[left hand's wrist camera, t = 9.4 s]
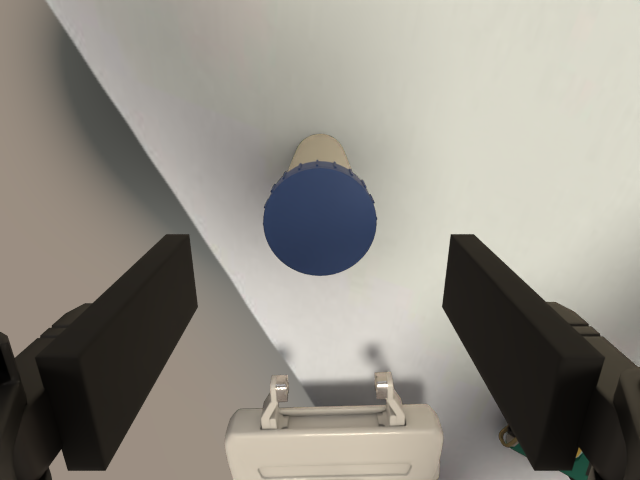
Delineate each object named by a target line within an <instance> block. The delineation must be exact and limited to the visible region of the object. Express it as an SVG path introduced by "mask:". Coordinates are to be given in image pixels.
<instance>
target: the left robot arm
mask: <svg viewBox="0 0 640 480" xmlns="http://www.w3.org/2000/svg"><path fill="white" fill-rule="evenodd" d="M197 307H198V305H197V296H196V288H195V279H194V271H193V263H192V254H191V246H190V238H189V234H167V235H165V236H164V237H163V238H162V239H161V240H160V241H159V242H158V243H157V244H155V245H154V246H153V247H152V248H151V249H150V250H149V251H148V252H147V253H146V254H145V255H144V256H143V257H142V258H140V259H139V260H138V261H137V262H136V263H135V264H134V265H133V266H132V267H131V268H130V269H129V270H128V271H127V272H126V273H124V274H123V275H122V276H121V277H120V278H119V279H118V280H117V281H116V282H115V283H114V284H113V285H112V286H111V287H110V288H108V289H107V290H106V291H105V292H104V293H103V294H102V295H101V296H100V297H99V298H98V299H97V300H96V301H95V302H94V303H85V304H83V305H81V306H79V307H77V308H75V309H73V310H71V311H69V312H68V313H66V314H64V315H63V316H62V317H61V318H60V319H59V320H58V321H56V322H55V323H54V324H53V325H52V328H48V329H47V330H46V331H45V332H44V333H43V334H42V335H41V336H40V338H37V339H36V340H35V341H34V342H33V343H31V344H30V345H29V346H28V347H27V348H26V349H24V350H23V351H22V352H21V353H20V354H19V355H18V356H17V357H15V358H14V355H13V352H12V349H11V346H10V342H9V339H8V336H7V335H5V334H3V333H2V332H0V480H52V477H51V473H50V470H49V466H50V464H51V463H52V461H53V460H54V459H55V457H56V456H57V454H58V453H59V452H60V450H61V449H62V452H63V456H64V459H65V462H66V466H67V469H68V471H105V470H106V469H107V467H108V465H109V463H110V462H111V460H112V458H113V456H114V455H115V453H116V451H117V449H118V448H119V446H120V444H121V442H122V440H123V439H124V437H125V435H126V433H127V431H128V430H129V428H130V426H131V424H132V423H133V421H134V419H135V417H136V416H137V414H138V412H139V410H140V409H141V407H142V405H143V403H144V401H145V400H146V398H147V396H148V394H149V393H150V391H151V389H152V387H153V385H154V384H155V382H156V380H157V378H158V377H159V375H160V373H161V371H162V370H163V368H164V366H165V364H166V362H167V361H168V359H169V357H170V355H171V354H172V352H173V350H174V348H175V346H176V345H177V343H178V341H179V339H180V338H181V336H182V334H183V332H184V331H185V329H186V327H187V325H188V323H189V322H190V320H191V318H192V316H193V315H194V313H195V311H196V309H197ZM442 308H443V309H444V311H445V313H446V315H447V316H448V318H449V320H450V322H451V323H452V325H453V327H454V329H455V331H456V332H457V334H458V336H459V338H460V339H461V341H462V343H463V345H464V347H465V348H466V350H467V352H468V354H469V355H470V357H471V359H472V361H473V362H474V364H475V366H476V368H477V370H478V371H479V373H480V375H481V377H482V378H483V380H484V382H485V384H486V386H487V387H488V389H489V391H490V393H491V394H492V396H493V398H494V400H495V401H496V403H497V405H498V407H499V409H500V410H501V412H502V414H503V416H504V417H505V419H506V421H507V423H508V425H509V426H510V428H511V430H512V432H513V433H514V435H515V437H516V439H517V440H518V442H519V444H520V446H521V448H522V449H523V451H524V453H525V455H526V456H527V458H528V460H529V462H530V463H531V465H532V467H533V469H534V471H572V469H573V466H574V462H575V459H576V455H577V452H578V449H579V448H580V449H581V451H582V452H583V454H584V455H585V456H586V458H587V459H588V460H589V462H590V463H591V465H592V466H591V470H590V473H589V476H588V479H587V480H640V367H637V366H636V365H635V364H634V363H633V362H632V361H630V360H629V359H628V358H627V357H626V356H625V355H624V354H622V353H621V352H620V351H619V350H618V349H617V348H616V347H614V346H613V345H612V344H611V343H610V342H609V341H607V340H606V339H605V338H604V337H600V334H599V333H598V332H597V331H596V330H595V329H594V328H593V327H591V326H589V324H588V323H587V322H586V321H584V320H583V319H582V318H581V317H580V316H579V315H578V314H576V313H575V312H574V311H572V310H570V309H568V308H566V307H564V306H562V305H560V304H558V303H556V302H545V301H544V300H543V299H542V298H541V297H540V296H539V295H538V294H537V293H536V292H535V291H534V290H533V289H532V288H530V287H529V286H528V285H527V284H526V283H525V282H524V281H523V280H522V279H521V278H520V277H519V276H518V275H517V274H516V273H514V272H513V271H512V270H511V269H510V268H509V267H508V266H507V265H506V264H505V263H504V262H503V261H502V260H501V259H500V258H498V257H497V256H496V255H495V254H494V253H493V252H492V251H491V250H490V249H489V248H488V247H487V246H486V245H485V244H483V243H482V242H481V241H480V240H479V239H478V238H477V237H476V236H475V235H474V234H451V237H450V246H449V254H448V262H447V271H446V279H445V288H444V296H443V304H442Z"/></svg>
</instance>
